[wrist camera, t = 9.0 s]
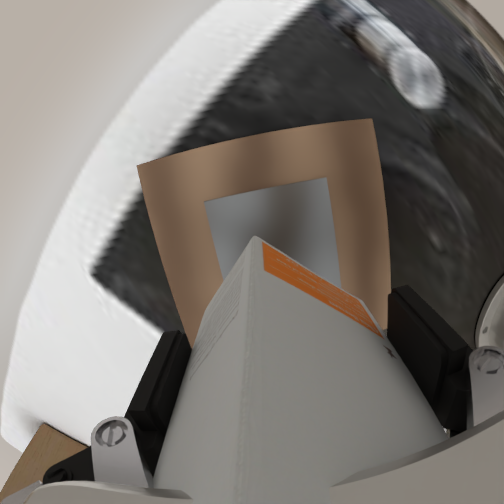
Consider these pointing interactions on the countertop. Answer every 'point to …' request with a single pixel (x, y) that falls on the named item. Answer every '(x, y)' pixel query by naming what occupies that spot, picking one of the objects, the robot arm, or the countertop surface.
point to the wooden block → (40, 458)
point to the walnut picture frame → (273, 211)
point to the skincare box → (288, 391)
